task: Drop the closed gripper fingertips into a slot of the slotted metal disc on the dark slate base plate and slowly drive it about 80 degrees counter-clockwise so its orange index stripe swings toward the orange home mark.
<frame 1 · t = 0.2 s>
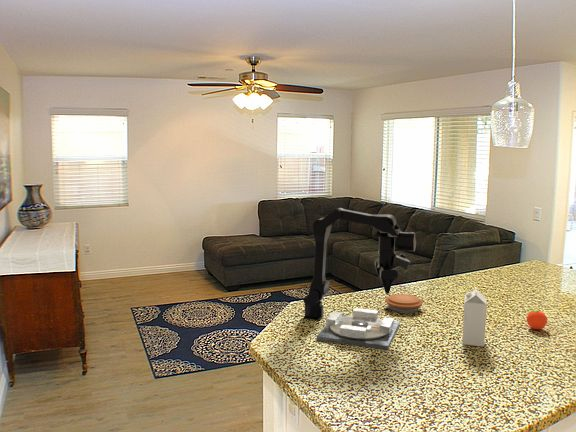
hand: (385, 290, 196), 14 cm above the countertop, fingers open, 9 cm apart
slotted metal disc: (359, 323, 191), point 3 cm above the countertop, hinge at 0.0°
milk carton: (473, 342, 182), on the countertop
tomato: (534, 329, 195), on the countertop
base plate: (359, 332, 192), on the countertop
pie: (403, 309, 218), on the countertop
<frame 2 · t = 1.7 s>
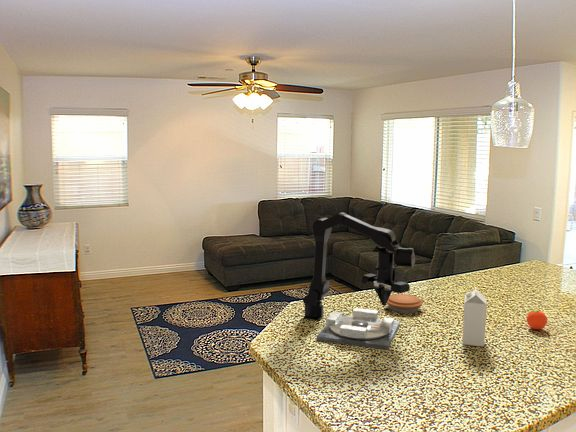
hand: (384, 305, 195), 9 cm above the countertop, fingers closed
nothing on the countertop moved.
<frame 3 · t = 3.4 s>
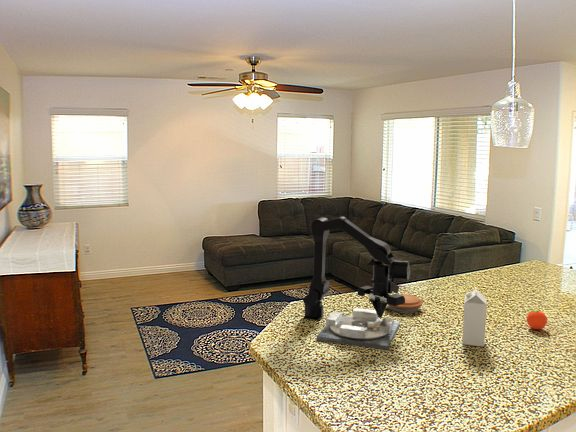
hand: (380, 317, 197), 4 cm above the countertop, fingers closed
slotted metal disc: (359, 323, 191), point 3 cm above the countertop, hinge at 0.2°, touching gripper
everything else where it was.
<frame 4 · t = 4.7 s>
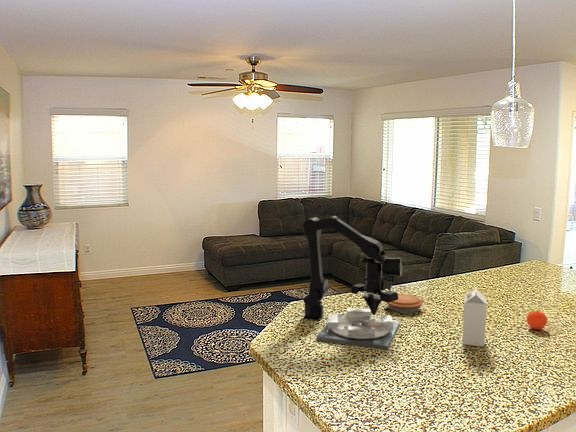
hand: (374, 314, 199), 4 cm above the countertop, fingers closed
slotted metal disc: (359, 323, 191), point 3 cm above the countertop, hinge at 15.9°, touching gripper
everything else where it was.
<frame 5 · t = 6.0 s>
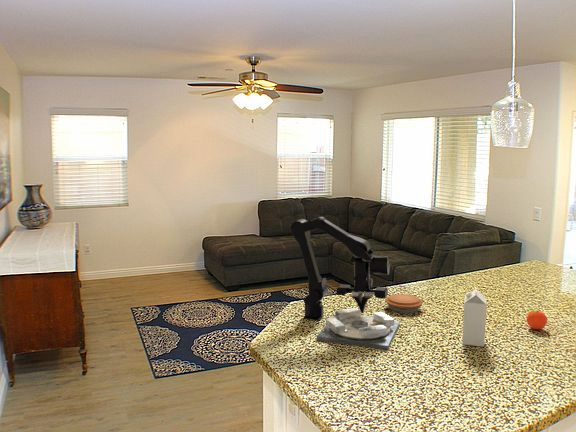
hand: (362, 312, 201), 4 cm above the countertop, fingers closed
slotted metal disc: (359, 323, 191), point 3 cm above the countertop, hinge at 40.4°, touching gripper
everything else where it was.
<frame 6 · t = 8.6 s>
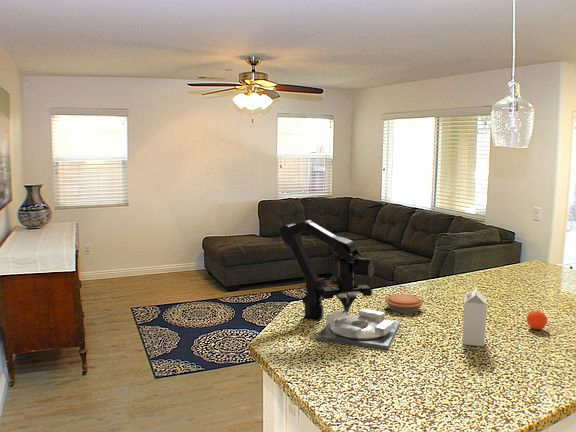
hand: (346, 313, 201), 4 cm above the countertop, fingers closed
slotted metal disc: (359, 323, 191), point 3 cm above the countertop, hinge at 76.5°, touching gripper
everything else where it was.
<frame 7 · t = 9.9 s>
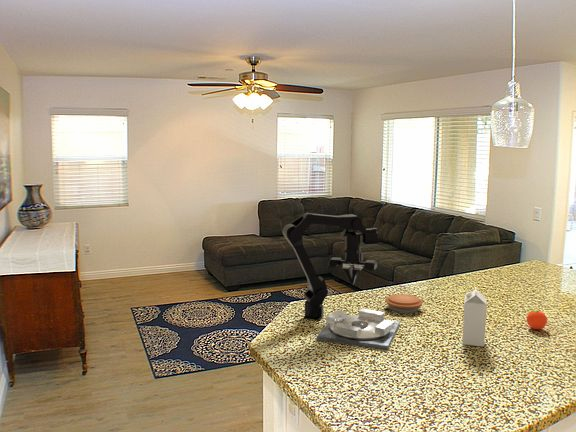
hand: (352, 284, 210), 12 cm above the countertop, fingers closed
slotted metal disc: (359, 323, 191), point 3 cm above the countertop, hinge at 76.6°
everything else where it was.
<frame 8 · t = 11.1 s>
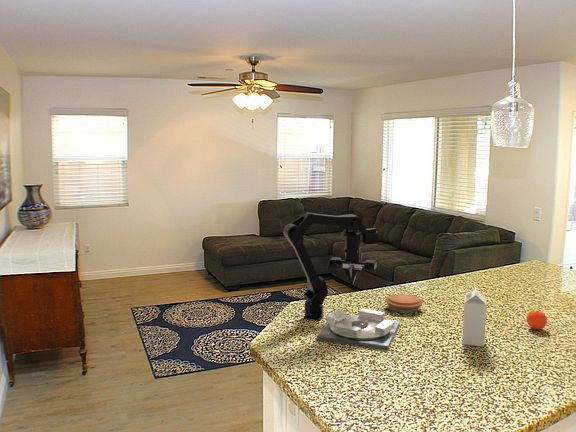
hand: (352, 284, 211), 12 cm above the countertop, fingers closed
nothing on the countertop moved.
at the end: slotted metal disc at +77° (first picture: +0°); the gripper is holding nothing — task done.
